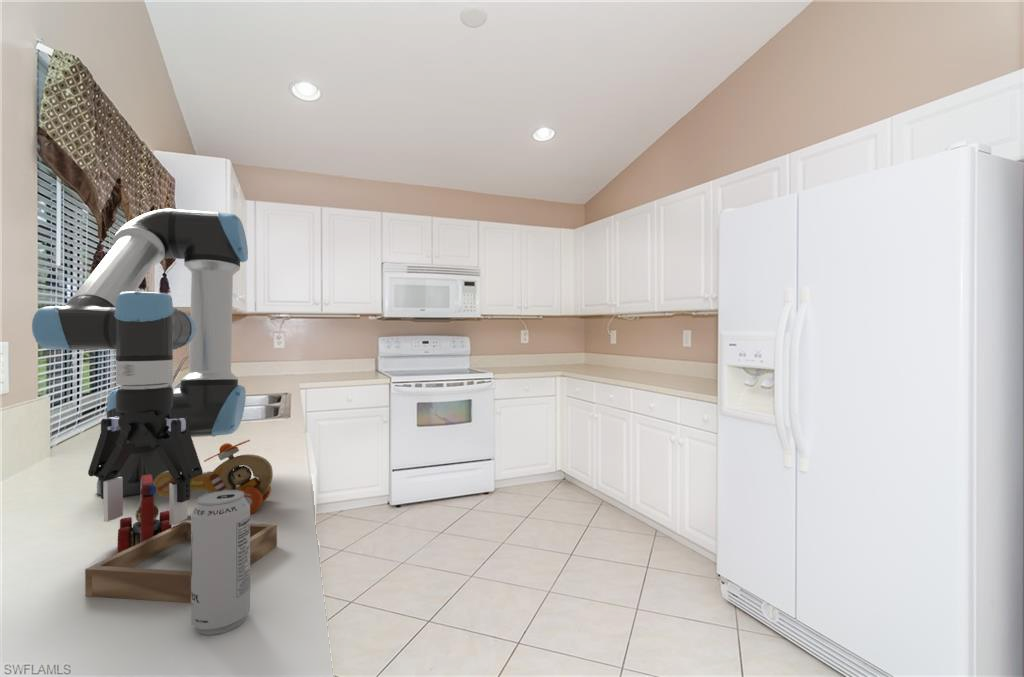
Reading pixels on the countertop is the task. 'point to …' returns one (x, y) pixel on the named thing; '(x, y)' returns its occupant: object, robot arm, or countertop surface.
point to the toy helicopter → (229, 477)
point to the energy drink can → (220, 561)
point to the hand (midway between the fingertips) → (145, 520)
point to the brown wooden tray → (161, 565)
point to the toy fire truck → (143, 518)
